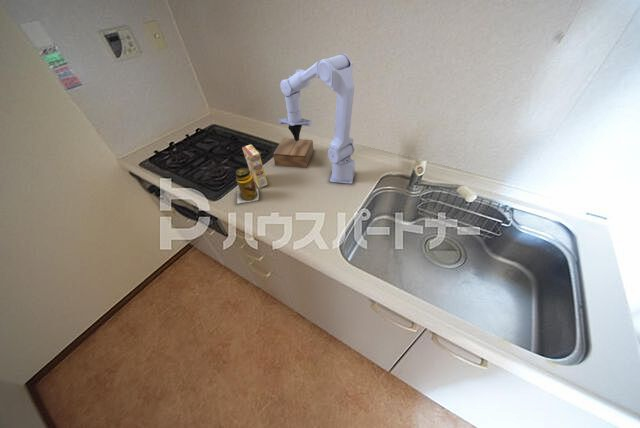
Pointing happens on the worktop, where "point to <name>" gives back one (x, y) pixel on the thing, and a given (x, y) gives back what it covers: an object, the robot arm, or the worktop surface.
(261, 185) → the candy box
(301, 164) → the brown wooden square box
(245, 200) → the condiment
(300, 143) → the bin flap
